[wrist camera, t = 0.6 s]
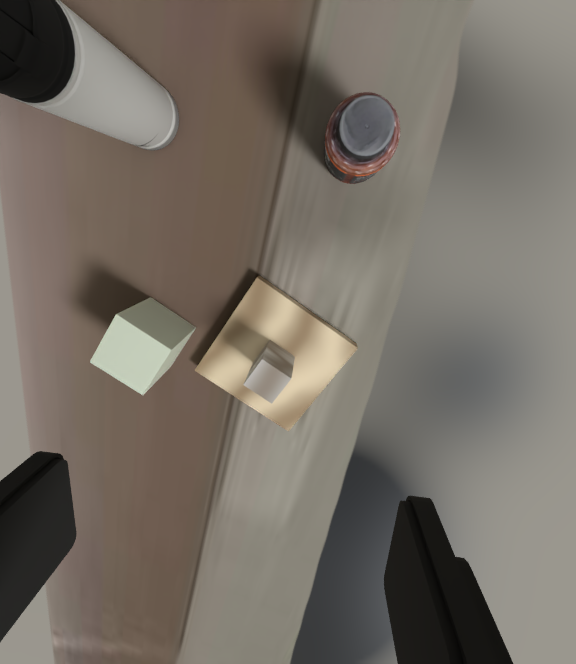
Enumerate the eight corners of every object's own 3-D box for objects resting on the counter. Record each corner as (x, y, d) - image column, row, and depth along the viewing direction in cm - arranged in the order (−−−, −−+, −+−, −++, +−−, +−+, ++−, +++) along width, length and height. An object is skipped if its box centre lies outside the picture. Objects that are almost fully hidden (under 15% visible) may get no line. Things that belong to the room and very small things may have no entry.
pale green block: (127, 337, 45) (89, 362, 37) (150, 297, 43) (116, 314, 36) (171, 366, 46) (142, 395, 38) (196, 327, 44) (171, 350, 36)
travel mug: (164, 165, 38) (14, 116, 19) (110, 126, 38) (-101, 35, 19) (193, 109, 36) (59, -5, 17) (137, 67, 36) (-67, -101, 17)
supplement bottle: (395, 147, 36) (428, 119, 25) (354, 196, 38) (369, 189, 27) (351, 105, 35) (365, 57, 25) (311, 157, 37) (309, 134, 26)
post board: (198, 365, 45) (176, 393, 38) (259, 275, 41) (246, 287, 34) (289, 424, 47) (284, 462, 40) (356, 343, 43) (364, 369, 36)
